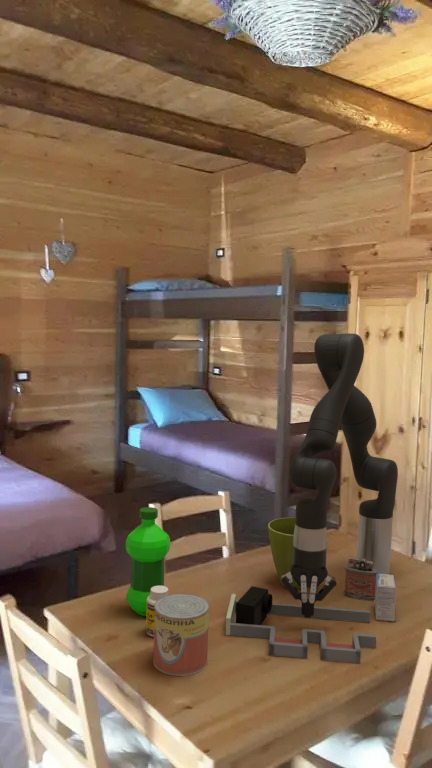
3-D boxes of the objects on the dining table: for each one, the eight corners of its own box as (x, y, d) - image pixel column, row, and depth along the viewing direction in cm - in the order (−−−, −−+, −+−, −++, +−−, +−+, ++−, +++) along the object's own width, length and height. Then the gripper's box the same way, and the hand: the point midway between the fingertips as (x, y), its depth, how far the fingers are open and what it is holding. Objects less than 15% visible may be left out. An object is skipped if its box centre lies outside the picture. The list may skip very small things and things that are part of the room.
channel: (231, 609, 159) (231, 593, 159) (369, 620, 155) (370, 604, 155) (221, 650, 139) (222, 632, 139) (379, 665, 136) (380, 646, 135)
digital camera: (257, 637, 146) (258, 607, 145) (235, 632, 148) (236, 602, 147) (272, 618, 156) (273, 589, 155) (250, 613, 158) (251, 585, 157)
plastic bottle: (140, 598, 164) (142, 501, 161) (176, 608, 159) (178, 508, 156) (116, 613, 155) (117, 511, 153) (153, 624, 150) (155, 519, 148)
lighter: (376, 596, 169) (378, 559, 168) (375, 602, 166) (377, 564, 165) (344, 591, 172) (346, 554, 171) (343, 596, 168) (345, 559, 167)
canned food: (143, 667, 132) (144, 610, 131) (169, 642, 142) (170, 589, 141) (193, 681, 128) (194, 622, 126) (216, 654, 138) (218, 600, 137)
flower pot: (293, 600, 165) (296, 539, 164) (254, 581, 177) (256, 523, 175) (333, 586, 175) (336, 528, 173) (293, 568, 186) (295, 514, 184)
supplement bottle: (142, 636, 145) (142, 591, 144) (151, 624, 150) (152, 582, 149) (165, 640, 143) (166, 595, 142) (174, 629, 149) (175, 585, 147)
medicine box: (394, 622, 155) (396, 587, 154) (375, 620, 156) (377, 585, 155) (392, 608, 163) (394, 574, 162) (374, 606, 164) (375, 572, 163)
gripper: (338, 540, 151) (335, 611, 153) (281, 536, 153) (279, 607, 155) (340, 551, 144) (337, 626, 146) (280, 548, 146) (278, 621, 148)
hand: (307, 616), depth 151 cm, fingers closed
